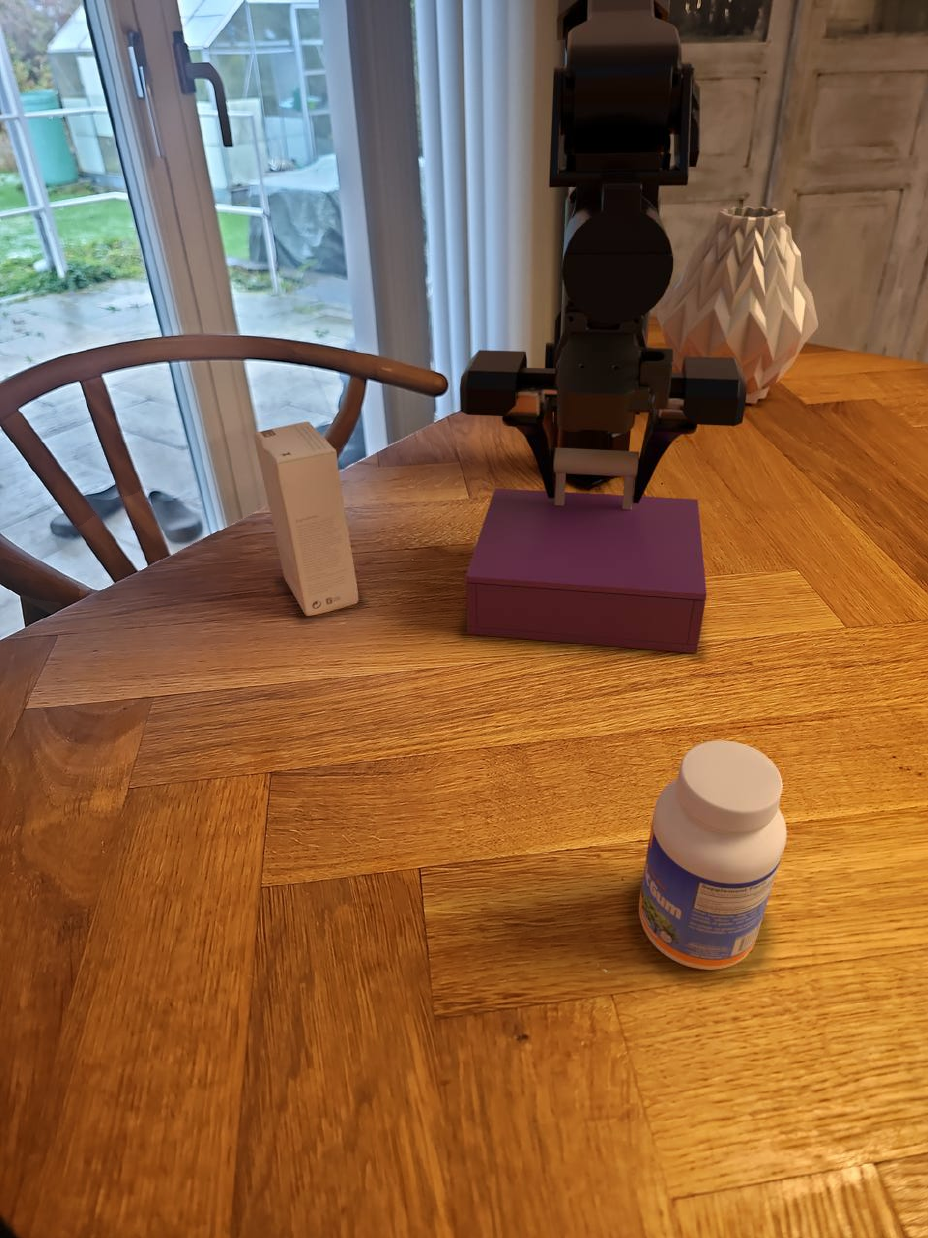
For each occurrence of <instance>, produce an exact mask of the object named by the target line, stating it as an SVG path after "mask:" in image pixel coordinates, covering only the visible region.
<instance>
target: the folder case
mask: <svg viewBox="0 0 928 1238" xmlns="http://www.w3.org/2000/svg"><path fill="white" fill-rule="evenodd" d="M465 601H466V602H465V603H466V630H467V635H476V636H485V637H499V638H510V639H519V640H520V639H522V640H533V641H546V642H556V643H558V642H559V643H568V644H579V645H580V644H582V645H592V646H593V645H594V646H604V647H615V648H618V647H619V648H628V649H640V650H650V651H651V650H652V651H664V652H674V653H689V654H697V653H698V649H699V644H700V638H701V637H700V636H701V632H702V631H701V630H702V624H703V619H704V613H705V606H706V600H698V599H684V598H671V597H658V596H644V595H631V594H617V593H604V592H590V591H577V590H563V589H550V588H537V587H523V586H510V585H496V584H483V583H469V582H466V581H465Z"/></svg>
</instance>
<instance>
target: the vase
mask: <svg viewBox="0 0 928 1238" xmlns="http://www.w3.org/2000/svg"><path fill="white" fill-rule="evenodd" d="M802 262H803V261H802V252H801V251H800V249H799V248H798V246H797V245H796V242H795V241H794V240H793V236H792V229H791V227H790V226H789V225H787V223H786V212H785V210H777V207H773V208H767V207H765V206H758V207H753V206H749V205H746V206H744V207H737V206H732V207H731V208H722V209H721V210H719V211H718V212H717V215H716V218H715V221H714V222H713V223H712V224H710V225H709V228H707V231H706V234H705V236H704V237H703V238H702V239H701V240H700V241H699V242H698V243H697V244H696V245H695V246H694V248H693V249H692V252H691V254H690V256H689V258H688V260H687V262H686V265H685V267H684V269H683V271H682V273H681V276H680V278H678V280H677V281H676V282H674V283H673V285H672V286H671V288H670V290H669V291H668V293H667V295H666V296H665V298H664V299H663V301H662V303H661V304H660V306H659V308H658V310H657V311H656V315H655V316H656V318H657V319H656V320H657V321H658V324H659V327H660V330H661V334H662V336H663V339H664V343H665V345H666V349H673V367H672V368H673V370H674V373H681V371H682V364H683V359H684V356H690V357H723V358H735V359H736V360H737V362H738V363H739V364H740V366H741V367H742V370H743V374H744V378H745V382H746V386H747V394H746V404H747V405H748V404H750V405H756V404H757V403H758V400H761V399H766V397H767V395H768V392H769V389H770V387H772V386H774V385H776V384H777V383H778V382H779V381H780V380H781V378H782V377H784V375H785V374H786V372H788V370H789V369H790V368H791V366H793V365H794V363H795V360H796V359H797V357H798V356H799V354H800V353H801V350H802V349H803V347H804V345H805V344H806V343H807V341H808V340H809V339H810V338H811V336H812V335H813V334H814V333H815V331H816V330H817V329H818V327H819V322H818V316H817V312H816V307H815V302H814V297H813V293H812V291H811V290H810V287H808V285H807V283H806V282H805V281H804V272H803V263H802Z"/></svg>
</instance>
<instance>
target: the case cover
mask: <svg viewBox="0 0 928 1238" xmlns="http://www.w3.org/2000/svg"><path fill="white" fill-rule="evenodd" d="M639 457H640V452H639V451H637V450H634V451H633V450H629V451H617V450H596V449H574V448H555V451H554V461H553V471H554V473H556V477H555V496H554V498H553V499H552V498H549V497H548V495H547V492H546V490H536V489H535V490H534V489H533V490H532V489H515V488H500V487H499V488H497V487H496V488H494V490H493V493H492V497H491V499H490V501H489V502H490V503H489V505H488V509H487V511H486V514H485V517H484V520H483V523H482V526H481V529H480V532H479V535H478V537H477V541H476V544H475V547H474V549H473V552H472V556H471V559H470V562H469V564H468V568H467V570H466V574H465V583H466V582H469V583H483V584H496V585H510V586H523V587H537V588H550V589H563V590H577V591H590V592H604V593H617V594H631V595H644V596H658V597H671V598H684V599H698V600H705V601H706V600H707V593H708V592H707V584H706V573H705V562H704V552H703V551H704V550H703V539H702V529H701V528H702V527H701V519H700V518H701V517H700V507H699V499H695V498H694V499H693V498H678V497H677V498H675V497H661V496H644V495H642V497H641V499H640V501H639V503H633V495H634V484H635V477H637V474H638V463H639ZM566 473H569V474H588V475H607V476H617V477H624V483H623V484H624V485H623V494H608V493H607V494H604V493H586V492H571V491H570V492H569V491H566V480H567V479H566Z"/></svg>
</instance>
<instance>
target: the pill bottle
mask: <svg viewBox="0 0 928 1238" xmlns="http://www.w3.org/2000/svg"><path fill="white" fill-rule="evenodd" d="M783 785H784V784H783V778H782V775H781V773H780V771H779V769H778V767H777V766H776V764H775V763H774V762H773V761H772V760H771V759H770V758H769V757H768V756H767V755H765V754H764V753H763V752H761V751H760V750H758V749H756V748H754V747H752V746H750V745H747V744H744V743H741V742H737V741H734V740H733V741H732V740H723V739H722V740H720V739H718V740H709V741H705V742H702V743H699V744H696V745H694V746H693V747H692V748H690V749H689V750H688V751H687V752H686V753H685V754H684V756H683V758H682V759H681V762H680V765H679V769H678V774H677V777H676V778H675V779H673V780H672V781H670V782H669V783H668V784H667V785H666V786H665V787H663V789H662V791H661V792H660V794H659V795H658V797H657V798H656V802H655V805H654V810H653V815H652V820H651V826H650V830H649V831H650V832H649V838H648V844H647V851H646V857H645V862H644V869H643V875H642V880H641V885H640V886H641V887H640V892H639V901H638V914H639V920H640V923H641V926H642V929H643V931H644V933H645V935H646V937H647V938H648V939H649V941H650V942H651V943H652V945H653V946H654V947H655V948H656V949H657V950H659V951H660V952H661V953H662V954H663V955H664V956H666V957H667V958H669V959H671V960H672V961H674V962H676V963H678V964H681V965H683V966H685V967H689V968H694V969H698V970H708V971H710V970H711V971H712V970H713V971H714V970H721V969H727V968H729V967H730V968H731V967H732V966H734V965H736V964H738V963H740V962H741V961H742V960H744V959H745V958H747V956H748V955H749V953H750V952H751V951H752V949H753V947H754V946H755V943H756V941H757V938H758V935H759V932H760V928H761V926H762V925H761V924H762V921H763V919H764V915H765V911H766V909H767V904H768V901H769V899H770V895H771V892H772V889H773V886H774V883H775V880H776V877H777V873H778V871H779V868H780V864H781V861H782V857H783V855H784V850H785V848H786V844H787V836H788V835H787V833H788V832H787V825H786V822H785V821H786V820H785V817H784V815H783V813H782V811H781V809H780V802H781V798H782V793H783V789H784V788H783Z"/></svg>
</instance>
